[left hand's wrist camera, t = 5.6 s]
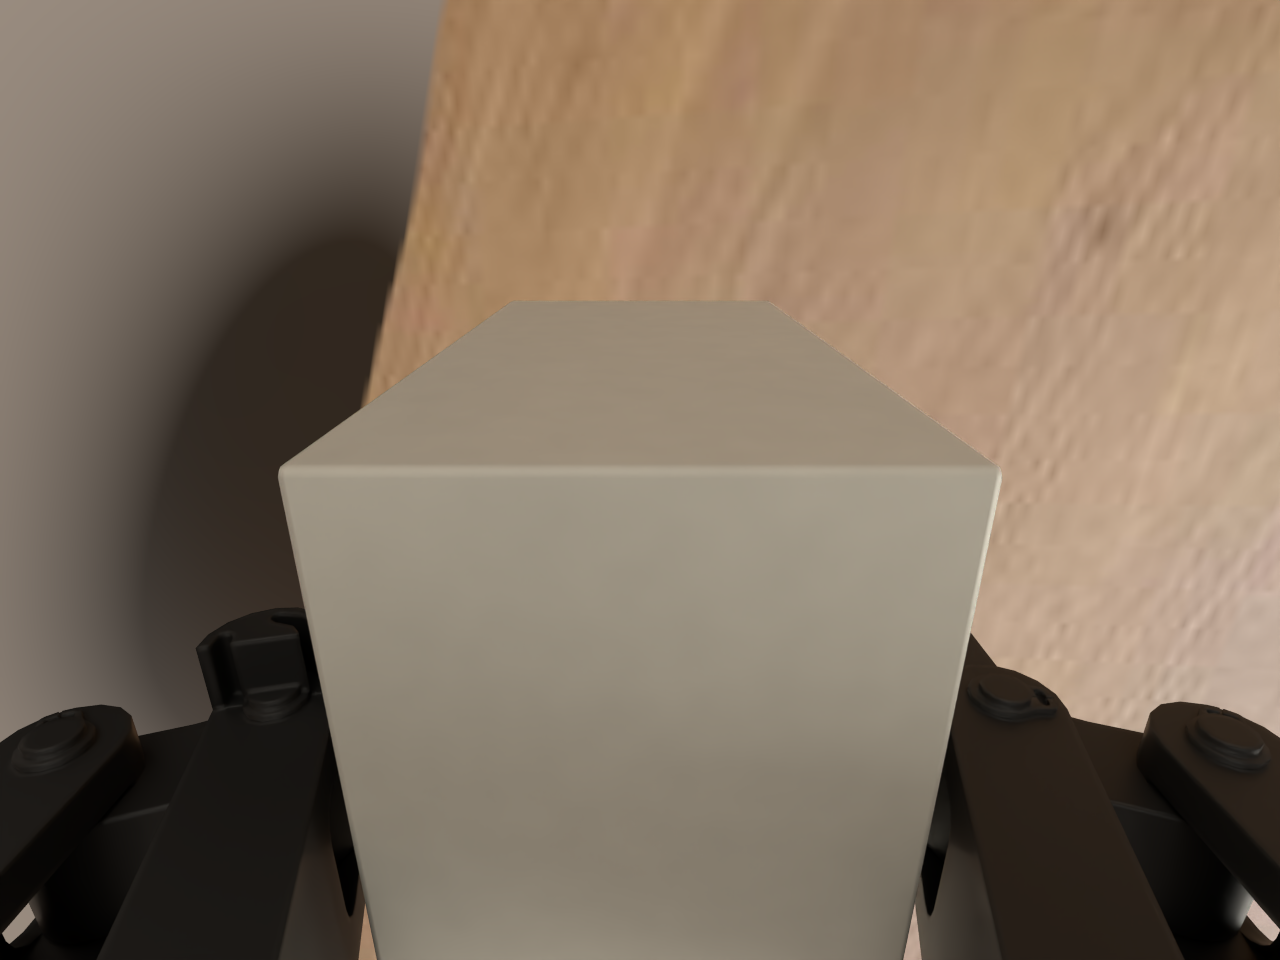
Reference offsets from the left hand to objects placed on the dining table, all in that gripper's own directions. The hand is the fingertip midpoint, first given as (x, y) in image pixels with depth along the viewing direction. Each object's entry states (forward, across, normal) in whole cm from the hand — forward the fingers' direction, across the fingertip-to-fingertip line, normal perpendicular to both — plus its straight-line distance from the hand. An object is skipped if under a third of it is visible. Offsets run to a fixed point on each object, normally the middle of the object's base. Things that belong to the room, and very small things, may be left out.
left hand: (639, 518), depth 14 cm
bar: (+1, 0, -9) cm, 9 cm away
